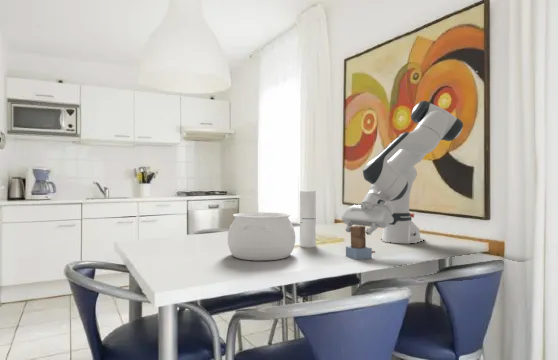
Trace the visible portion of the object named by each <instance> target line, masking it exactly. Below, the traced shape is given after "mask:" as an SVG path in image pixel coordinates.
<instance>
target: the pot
mask: <svg viewBox="0 0 558 360" xmlns="http://www.w3.org/2000/svg"><path fill="white" fill-rule="evenodd" d="M232 216H233V217H234V219H233V220H232V222H231V224H230V226H229V228H228V233H227V245H228V249H229V251H230V253H231V255H232V256H233V257H234V258H236V259H239V260H243V261H251V260H252V261H254V262H256V261H257V262H267V261H278V260H282V259H285V258H288V257H290V255H291V254H292V253H293V251H294V248H295V246H296V245H295V244H296V232H295V231H296V230H295V227H294V225H293V224H292V222H291V220H290V218H289V217H291V214H290V213H284V212H240V213H239V212H238V213H233V214H232ZM252 261H251V262H252Z"/></svg>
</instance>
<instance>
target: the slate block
mask: <svg viewBox="0 0 558 360" xmlns="http://www.w3.org/2000/svg"><path fill="white" fill-rule="evenodd" d="M372 251H373V249H372V247H370V246H369V247H368V246H366V247H364V248H351V245H349V246H345V257H347V258H351V259H354V260H364V259H365V260H366V258H367V259H372V255H373V253H372Z"/></svg>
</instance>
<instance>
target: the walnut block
mask: <svg viewBox="0 0 558 360" xmlns="http://www.w3.org/2000/svg"><path fill="white" fill-rule="evenodd" d="M366 240H367V239H366V226H361V225H352V226H351V232H350V246H351V248H364V247H367V246H366Z"/></svg>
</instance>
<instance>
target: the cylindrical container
mask: <svg viewBox="0 0 558 360" xmlns="http://www.w3.org/2000/svg"><path fill="white" fill-rule="evenodd" d="M316 195H317V194H316V190H299V247H300V246H302V248H315V247H316V245H317V244H316V239H317V237H316V236H317V235H316V233H317V231H316V227H317V226H316V223H317V222H316V221H317V220H316V212H317V211H316V210H317V209H316V206H317V204H316V203H317V199H316Z"/></svg>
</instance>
